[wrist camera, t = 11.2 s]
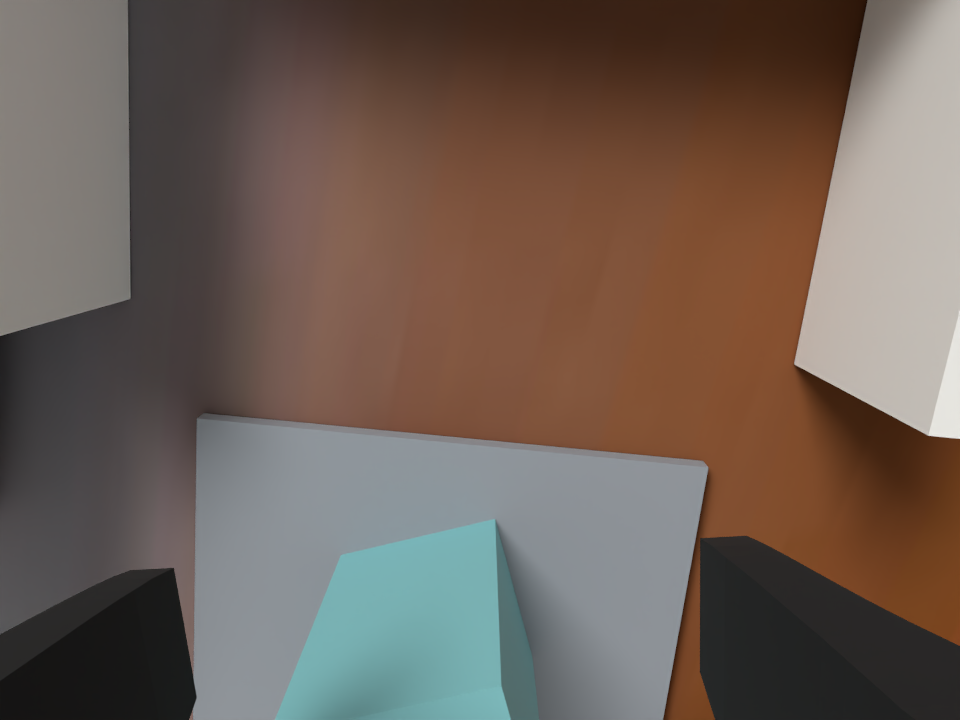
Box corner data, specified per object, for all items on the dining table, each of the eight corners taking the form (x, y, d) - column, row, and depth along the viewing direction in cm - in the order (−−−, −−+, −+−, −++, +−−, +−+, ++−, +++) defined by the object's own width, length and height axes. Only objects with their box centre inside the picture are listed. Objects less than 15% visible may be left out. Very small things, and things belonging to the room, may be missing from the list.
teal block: (495, 518, 20) (501, 685, 13) (532, 657, 21) (556, 879, 14) (340, 555, 20) (267, 737, 13) (384, 689, 21) (337, 924, 14)
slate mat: (703, 461, 20) (708, 467, 20) (649, 762, 22) (653, 774, 22) (203, 412, 20) (196, 418, 19) (199, 722, 22) (192, 734, 21)
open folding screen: (936, -126, 17) (1177, -300, 11) (830, 368, 19) (980, 440, 14) (82, -220, 16) (-140, -453, 11) (93, 295, 19) (-80, 337, 13)
